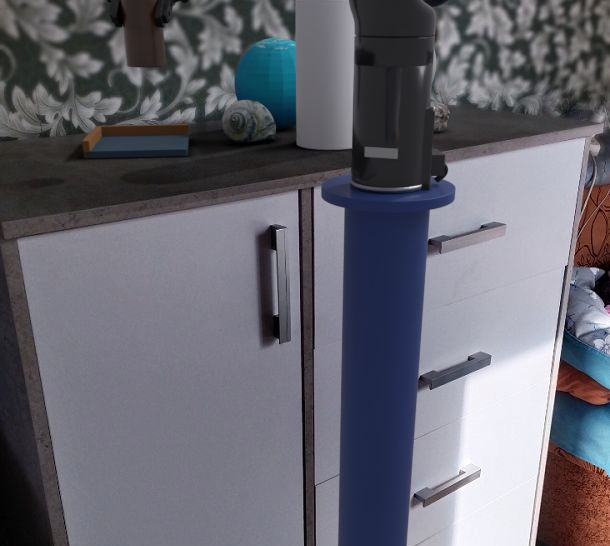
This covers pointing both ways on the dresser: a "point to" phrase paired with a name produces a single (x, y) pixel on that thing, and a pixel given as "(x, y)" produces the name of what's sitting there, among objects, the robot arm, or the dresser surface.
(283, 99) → the decorative orb
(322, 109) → the tall pillar cylinder
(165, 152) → the corner mat
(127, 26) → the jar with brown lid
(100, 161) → the dresser surface
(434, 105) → the stone
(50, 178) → the dresser surface
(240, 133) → the seashell
